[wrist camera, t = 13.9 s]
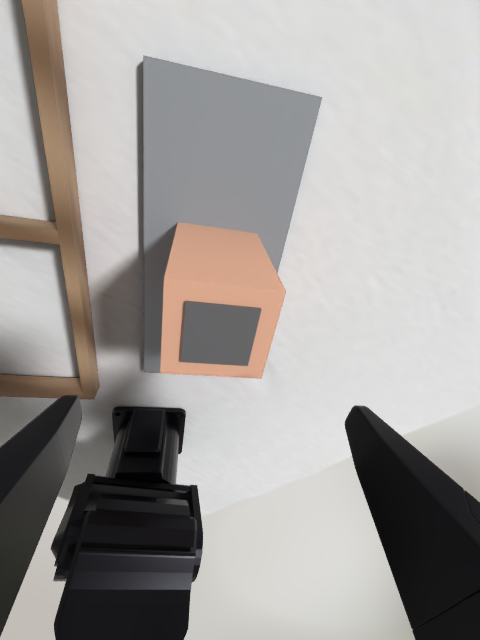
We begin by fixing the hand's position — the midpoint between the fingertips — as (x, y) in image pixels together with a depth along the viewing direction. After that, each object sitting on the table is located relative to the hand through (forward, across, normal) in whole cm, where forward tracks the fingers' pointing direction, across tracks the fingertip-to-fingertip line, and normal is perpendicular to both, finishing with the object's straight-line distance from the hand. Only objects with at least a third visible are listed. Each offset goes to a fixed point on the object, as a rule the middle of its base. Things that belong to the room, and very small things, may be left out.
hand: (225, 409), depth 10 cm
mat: (+13, 0, 0) cm, 13 cm away
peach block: (+12, 0, 0) cm, 12 cm away
